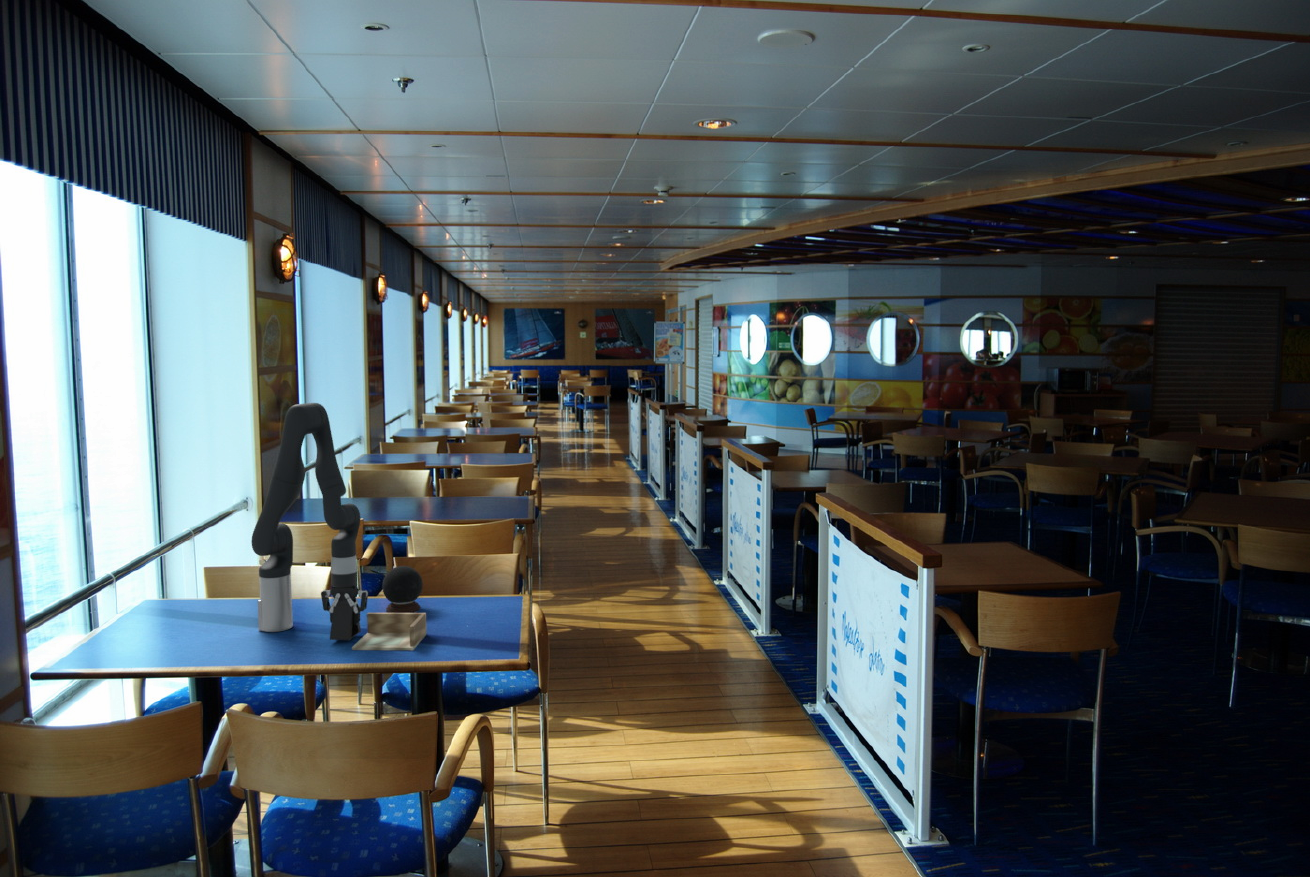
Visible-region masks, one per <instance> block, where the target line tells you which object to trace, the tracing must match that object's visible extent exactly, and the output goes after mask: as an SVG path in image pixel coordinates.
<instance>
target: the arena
mask: <svg viewBox="0 0 1310 877" xmlns="http://www.w3.org/2000/svg"><path fill="white" fill-rule="evenodd" d="M366 628H367V630H366V631H367V633H366V634H364V635H363V636H362V637H361V638H360V639H359V640H358V641H357V642H356V643H355V644H354V645H353V646H351V651H414V650H415V649H416V648H417V646H418V645H419V644H420V643H421V641H422V640H424V638H425V637H426V636H427V632H428V631H427V612H414V613H387V612H367V613H366Z"/></svg>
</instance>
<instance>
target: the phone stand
mask: <svg viewBox="0 0 1310 877" xmlns="http://www.w3.org/2000/svg"><path fill="white" fill-rule="evenodd" d="M356 599H357V597H356V598H355V599H354V600H353V599H352V601H353V602H355V601H356ZM333 601H334V599H333ZM333 601H332V602H333ZM354 613H355V612H354V611H353V606H352V607H351V606H350V604H349V602H348V600H347V599H345V600H339V601H338V602H337V605H336V607H333V616H332V623H330V624H331V626H330V632H329V633H330V635H329V640H330V641H331V640H332V641H351V640H352V639H354V637H356V636H357V635H358V634H360V633H361V631H362V629H361V628H362V627H361V624H360V622H361V621H360V622H359V623H358V624H357V625H354Z"/></svg>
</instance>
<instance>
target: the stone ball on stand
mask: <svg viewBox="0 0 1310 877" xmlns="http://www.w3.org/2000/svg"><path fill="white" fill-rule="evenodd" d="M423 586H424V585H423V579H422V576H421V574H420V572H418V570H416V569H415V568H413V567H410V566H407V565H398V566H395V567H393V568H392V569H390V570H389V571H388V572H387V573H386V574H385V576H384V577H383V580H382V586H381V588H382V592H383V595H384V597H385V598H386V599H387V600H388V601H389V602H390V603H389V604H388V605H387V607H386V608H385V613H413V612H414V613H418V612H419V611H420V610H421V605H420V604H419V603H418V602H417V601H416V600H417V599H418V598H419V597H420V596H421V593H422V591H423Z"/></svg>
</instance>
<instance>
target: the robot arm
mask: <svg viewBox="0 0 1310 877" xmlns="http://www.w3.org/2000/svg"><path fill="white" fill-rule="evenodd" d="M309 434H310V435H312V437H313V439H314V442H315V447H316V459H315V466H314V467H315V468H314V473H315V479H316V482H317V484H318V488H319V490H320V493H321V496H322V510H323V518H324V521H325V523H326V524H327V526H328V527H329V528H330V529H331V530H334V531H338V533H337V534H336V535H335V536H334V537H333V538H332V539H331V543H330V544H331V545H330V546H331V550H330V551H331V560H330V573H331V574H330V580H331V581H330V582H331V583H330V584H331V588H330V589H329V590H328V589H323V590H322V591H321V592H320V596H321V603H322V608H323V611H325V612H328V613H329V621H330V624H332V616H333V607H336V605H337V602H338V601H339V600H345V599H347V600H348V602H349V604H350V606H351V607H352V606H353V611H354V612H355V613H354V625H357V624H358V623H359V622H361V612H364V611H365V610H366V609H367V607H368V600H369V590H367V589H365V590H360V589H359V586H358V583H359V582H358V568H359V567H358V559H357V544H356V543H357V538H358V533H359V530H360V525H361V512H360V510H359V507H357V505H355V504H354V503H344V504H342V497H343V496H345V495H346V493H347V488H346V485H345V482H344V479H343V476H342V474H341V470H340V468H339V464H338V461H337V458H336V453H335V452H336V451H335V446H334V438H333V435H332V430H331V424H330V418H329V415H328V412H327V410H326V408H325V407H324V406H323V405H322V404H321V403H319V402H308V403H306V402H305V403H298V404H294V405H292V406H291V407H289V408H288V410H287V412H286V414H285V417H284V422H283V428H282V435H281V441H280V444H279V450H278V454H277V457H276V462H275V466H274V468H273V472H272V474H271V475H272V476H271V478H270V483H269V486H268V490H267V493H266V497H265V500H264V503H263V507H262V509H261V511H260V514H259V517H258V518H257V521H256V525H255V526H254V529H253V532H252V534H251V547H252V550H253V552H254V553H255V554H256V555H258V556H260V557H267V556H269V557H268V559H267V560H266V561H265V562H264V563H263V564H262V565H260V567H259V569H258V576H259V578H258V579H259V580H258V581H259V582H258V583H259V599H258V601H257V620H258V621H257V622H258V623H257V624H258V631H262V632H267V633H268V632H269V633H278V632H282V631H287V630H289V629H291V628H293V627H294V626H293V625H294V623H293V621H294V620H293V618H294V617H293V600H292V598H293V597H292V594H293V592H292V579H291V578H292V577H291V576H292V575H291V574H292V572H291V570H292V567H293V564H294V557H293V556H294V538H293V532H292V530H291V528H290V527H289V526H288V524H286V523H283V522H280V521H281V520H282V519H283V516H284V515H285V513H286V512H287V511H288V510H290V508H291V507H292V505H293V504H294V503H295V502H296V500H298V497H299V496H300V494H301V492H302V488H303V487H304V486H303V484H304V481H305V478H306V467H305V464H304V460H303V457H302V446H303V443H304V439H305V437H306V435H309ZM358 595H359V598H361V599H360V604H359V601H358V599H357V596H358ZM330 596H332V598H333V600H334V601H332V604H331V603H330V602H331V601H330ZM355 598H356V601H355V602H353V601H352V599H353V600H354V599H355Z"/></svg>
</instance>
